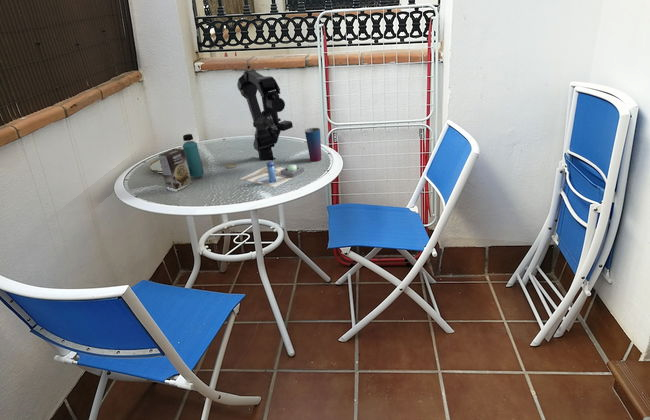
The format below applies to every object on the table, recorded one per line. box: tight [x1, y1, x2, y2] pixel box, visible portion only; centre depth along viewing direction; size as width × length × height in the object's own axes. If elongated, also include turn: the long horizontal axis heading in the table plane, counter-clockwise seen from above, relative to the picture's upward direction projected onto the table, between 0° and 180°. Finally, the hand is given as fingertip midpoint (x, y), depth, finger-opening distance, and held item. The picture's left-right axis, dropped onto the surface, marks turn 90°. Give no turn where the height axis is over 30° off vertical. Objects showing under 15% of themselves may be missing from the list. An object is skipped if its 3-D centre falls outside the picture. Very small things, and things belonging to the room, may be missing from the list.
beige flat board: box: [240, 165, 299, 188], centre depth 208 cm, size 23×20×1 cm
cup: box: [304, 127, 322, 163], centre depth 217 cm, size 7×7×15 cm
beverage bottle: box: [182, 133, 205, 178], centre depth 213 cm, size 6×7×20 cm
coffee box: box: [158, 148, 193, 189], centre depth 205 cm, size 9×6×16 cm
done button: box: [286, 164, 297, 172], centre depth 206 cm, size 4×4×3 cm
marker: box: [266, 161, 276, 183], centre depth 199 cm, size 3×3×8 cm
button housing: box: [281, 165, 305, 179], centre depth 207 cm, size 7×7×2 cm
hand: (275, 143), depth 212 cm, fingers closed
